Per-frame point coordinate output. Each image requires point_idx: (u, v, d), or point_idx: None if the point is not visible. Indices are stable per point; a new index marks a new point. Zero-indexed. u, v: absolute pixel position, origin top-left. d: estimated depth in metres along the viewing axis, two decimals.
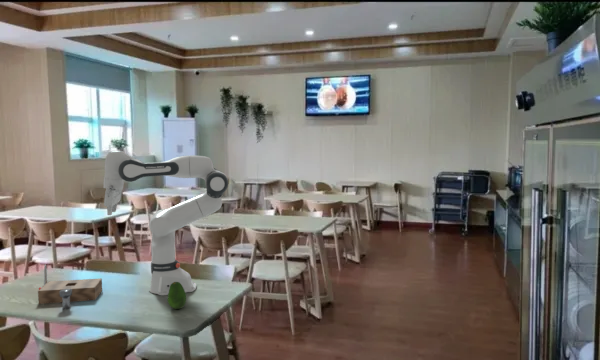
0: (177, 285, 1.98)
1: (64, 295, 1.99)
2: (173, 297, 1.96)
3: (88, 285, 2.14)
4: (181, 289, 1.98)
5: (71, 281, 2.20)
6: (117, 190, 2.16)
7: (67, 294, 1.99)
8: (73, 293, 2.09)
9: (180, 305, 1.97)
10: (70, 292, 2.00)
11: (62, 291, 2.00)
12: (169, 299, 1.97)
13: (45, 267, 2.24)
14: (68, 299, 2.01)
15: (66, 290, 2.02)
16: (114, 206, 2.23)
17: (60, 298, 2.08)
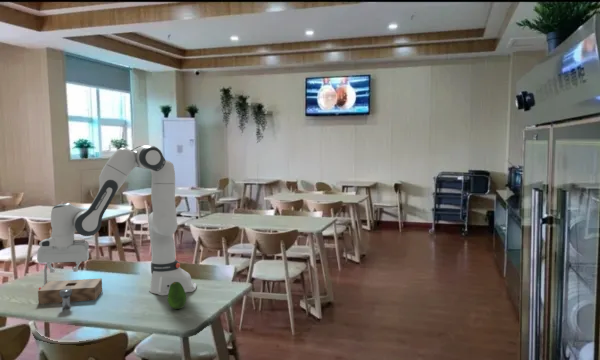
0: (177, 285, 1.98)
1: (64, 295, 1.99)
2: (173, 297, 1.96)
3: (88, 285, 2.14)
4: (181, 289, 1.98)
5: (71, 281, 2.20)
6: None
7: (67, 294, 1.99)
8: (73, 293, 2.09)
9: (180, 305, 1.97)
10: (70, 292, 2.00)
11: (62, 291, 2.00)
12: (169, 299, 1.97)
13: (45, 267, 2.24)
14: (68, 299, 2.01)
15: (66, 290, 2.02)
16: (50, 266, 1.99)
17: (60, 298, 2.08)
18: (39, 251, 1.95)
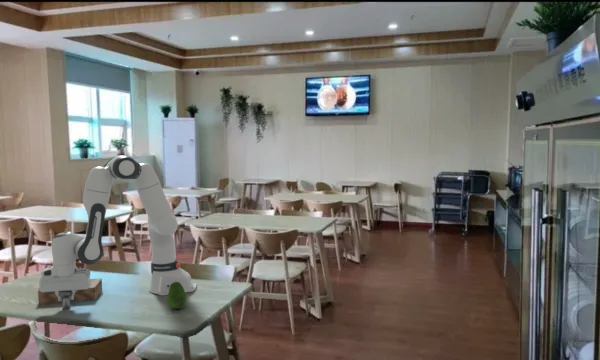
0: (177, 285, 1.98)
1: (64, 295, 1.99)
2: (173, 297, 1.96)
3: None
4: (181, 289, 1.98)
5: None
6: None
7: (67, 294, 1.99)
8: None
9: (180, 305, 1.97)
10: (70, 292, 2.00)
11: (62, 291, 2.00)
12: (169, 299, 1.97)
13: (45, 267, 2.24)
14: (68, 299, 2.01)
15: None
16: (59, 294, 2.01)
17: None
18: (41, 280, 1.96)
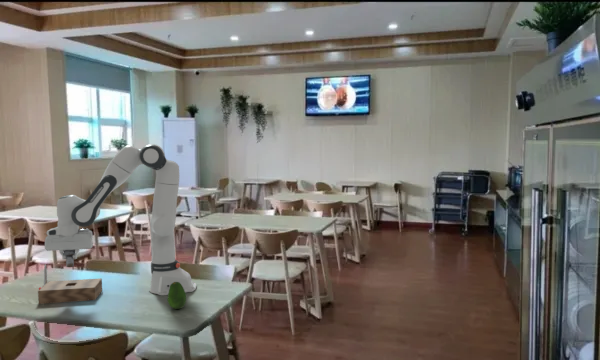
0: (177, 285, 1.98)
1: (68, 254, 2.12)
2: (173, 297, 1.96)
3: (88, 285, 2.14)
4: (181, 289, 1.98)
5: (71, 281, 2.20)
6: None
7: (71, 253, 2.12)
8: (73, 293, 2.09)
9: (180, 305, 1.97)
10: (73, 251, 2.13)
11: (66, 250, 2.13)
12: (169, 299, 1.97)
13: (45, 267, 2.24)
14: (71, 258, 2.14)
15: None
16: (63, 253, 2.13)
17: (60, 298, 2.08)
18: (46, 239, 2.09)
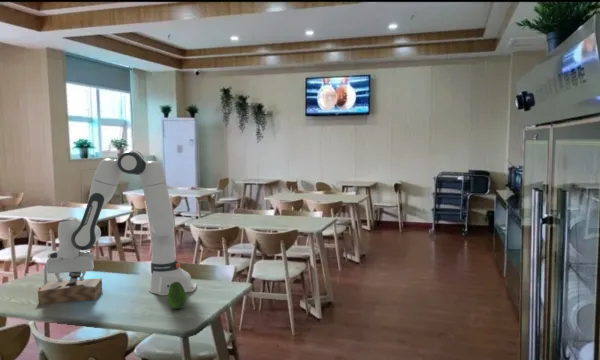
0: (177, 285, 1.98)
1: (73, 276, 2.13)
2: (173, 297, 1.96)
3: (88, 285, 2.14)
4: (181, 289, 1.98)
5: None
6: None
7: (76, 275, 2.13)
8: (73, 293, 2.09)
9: (180, 305, 1.97)
10: (79, 274, 2.15)
11: None
12: (169, 299, 1.97)
13: (45, 267, 2.24)
14: (75, 280, 2.15)
15: None
16: (58, 276, 2.14)
17: (60, 298, 2.08)
18: (48, 262, 2.10)
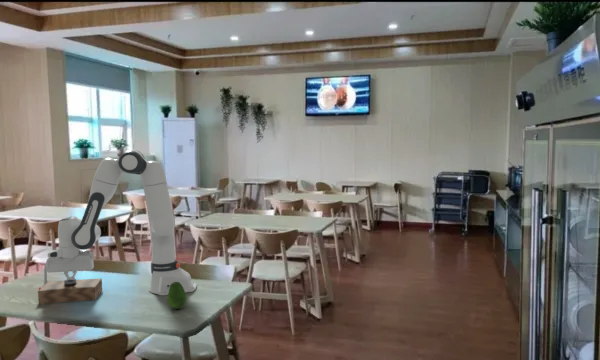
0: (177, 285, 1.98)
1: (68, 284, 2.13)
2: (173, 297, 1.96)
3: (88, 285, 2.14)
4: (181, 289, 1.98)
5: None
6: None
7: (71, 283, 2.13)
8: (73, 293, 2.09)
9: (180, 305, 1.97)
10: (74, 281, 2.14)
11: (66, 280, 2.14)
12: (169, 299, 1.97)
13: (45, 267, 2.24)
14: None
15: None
16: (67, 275, 2.15)
17: (60, 298, 2.08)
18: (47, 261, 2.10)
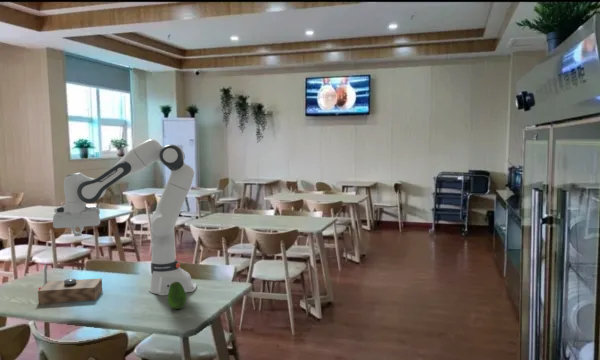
0: (177, 285, 1.98)
1: (68, 284, 2.13)
2: (173, 297, 1.96)
3: (88, 285, 2.14)
4: (181, 289, 1.98)
5: None
6: None
7: (71, 283, 2.13)
8: (73, 293, 2.09)
9: (180, 305, 1.97)
10: (74, 281, 2.14)
11: (66, 280, 2.14)
12: (169, 299, 1.97)
13: (45, 267, 2.24)
14: None
15: (70, 279, 2.16)
16: (74, 230, 2.17)
17: (60, 298, 2.08)
18: (54, 217, 2.12)
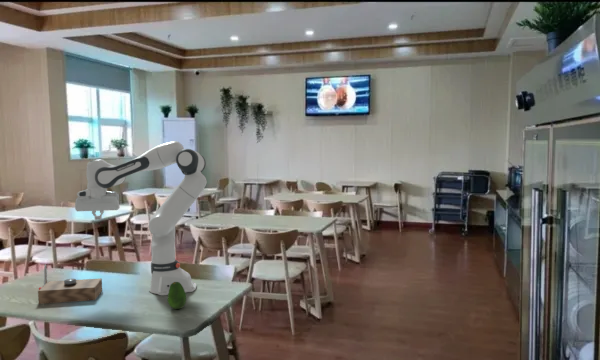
0: (177, 285, 1.98)
1: (68, 284, 2.13)
2: (173, 297, 1.96)
3: (88, 285, 2.14)
4: (181, 289, 1.98)
5: None
6: None
7: (71, 283, 2.13)
8: (73, 293, 2.09)
9: (180, 305, 1.97)
10: (74, 281, 2.14)
11: (66, 280, 2.14)
12: (169, 299, 1.97)
13: (45, 267, 2.24)
14: None
15: (70, 279, 2.16)
16: (95, 214, 2.28)
17: (60, 298, 2.08)
18: (77, 200, 2.23)
